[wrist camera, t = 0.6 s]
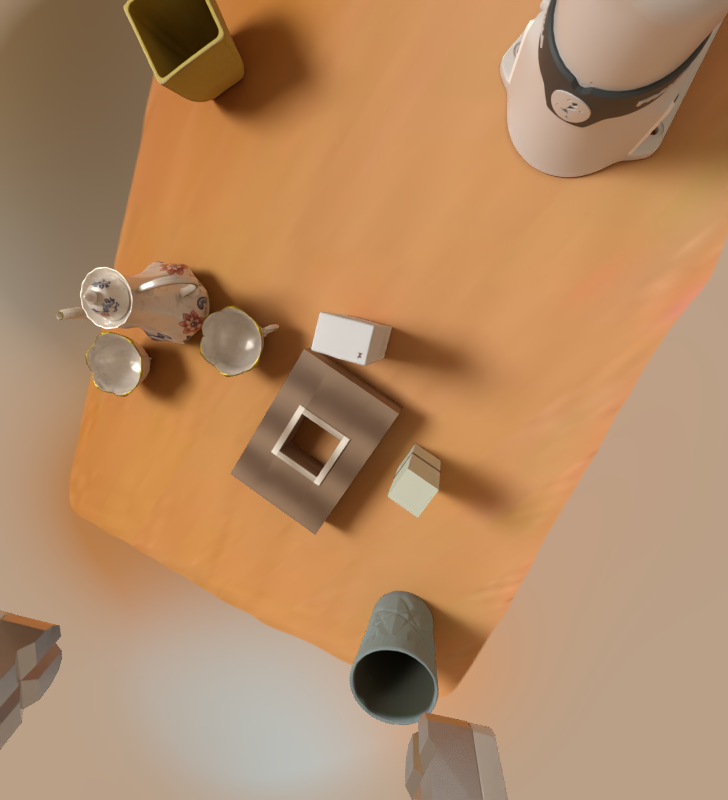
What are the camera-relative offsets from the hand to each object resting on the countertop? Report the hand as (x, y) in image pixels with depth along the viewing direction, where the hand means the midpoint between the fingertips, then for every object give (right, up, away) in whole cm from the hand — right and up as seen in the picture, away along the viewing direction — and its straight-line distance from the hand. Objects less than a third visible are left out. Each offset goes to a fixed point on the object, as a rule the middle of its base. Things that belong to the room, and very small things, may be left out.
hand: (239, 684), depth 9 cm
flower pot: (-15, +47, +42) cm, 65 cm away
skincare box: (+3, +14, +44) cm, 47 cm away
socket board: (-3, +1, +48) cm, 48 cm away
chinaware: (-22, +17, +49) cm, 56 cm away
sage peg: (+10, -2, +46) cm, 47 cm away
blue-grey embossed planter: (+9, -24, +50) cm, 57 cm away
